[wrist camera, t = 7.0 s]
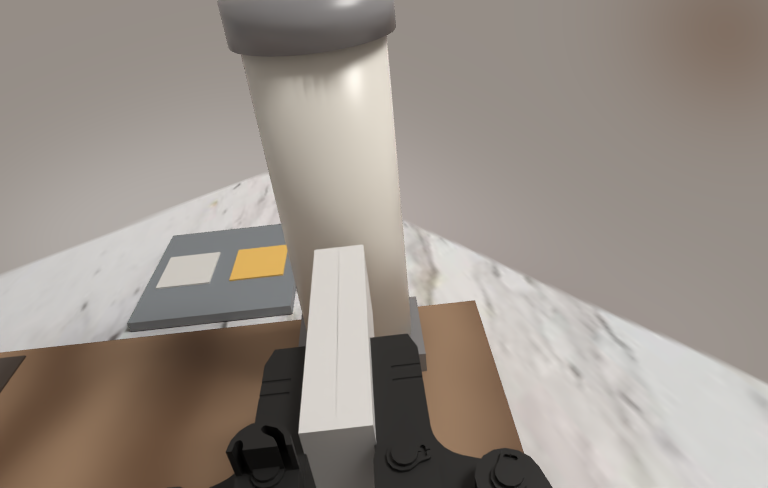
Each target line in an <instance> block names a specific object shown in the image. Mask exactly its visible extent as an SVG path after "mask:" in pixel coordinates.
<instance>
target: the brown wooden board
mask: <svg viewBox="0 0 768 488" xmlns="http://www.w3.org/2000/svg"><path fill="white" fill-rule="evenodd" d="M418 312H419V318H420V323H421V329H422V335H423V341H424V346H425V352H426V364H427V371H423V372H422V377H423V382H424V388H425V394H426V400H427V406H428V412H429V419H430V425H431V428H432V431H433V434H434V436H435V437H436V439H437V440H438V441H439V442H440V443H441V444H442V445H443V446H444V447H445V448H447V449H449V450H451V451H452V452H455V453H458V454H461V455H466V456H471V457H476V458H482V456H483V455H485V454H487V453H488V452H490V451H492V450H494V449H501V448H510V449H515V450H519V451H521V452H523V449H522V445H521V442H520V439H519V436H518V433H517V430H516V427H515V424H514V421H513V417H512V414H511V411H510V408H509V405H508V402H507V399H506V396H505V393H504V390H503V386H502V383H501V380H500V377H499V374H498V371H497V368H496V365H495V362H494V358H493V355H492V352H491V349H490V346H489V343H488V340H487V337H486V334H485V331H484V327H483V324H482V321H481V318H480V315H479V312H478V309H477V306H476V303H475V301H466V302H457V303H447V304H438V305H429V306H420V307H418ZM300 328H301V320H293V321H284V322H275V323H266V324H257V325H248V326H238V327H229V328H220V329H211V330H202V331H193V332H184V333H175V334H166V335H157V336H148V337H138V338H129V339H120V340H111V341H102V342H93V343H84V344H75V345H66V346H57V347H48V348H38V349H29V350H20V351H11V352H2V353H0V488H167V487H182V488H209V487H212V486H214V485H216V484H219V483H220V482H222V481H224V480H226V479H228V478H229V477H230V476H232V475H233V474H234V471H233V468H232V466H231V464H230V461H229V459H228V457H227V454H226V450H227V447H228V445H229V443H230V441H231V439H232V438H233V437H234V436H235V435H236V434H237V433H238V432H239V431H240V430H242V429H243V428H245V427H246V426H248V425H250V424H252V423H255V418H256V412H257V406H258V401H259V399H260V389H261V385H262V378H263V372H264V366H265V364H266V362H267V361H268V359H269V358H270V356H271V355H272V353H273V352H274V350H276V349H285V348H293V347H298V346H299V337H300ZM523 453H524V452H523Z"/></svg>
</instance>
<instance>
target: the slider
mask: <svg viewBox="0 0 768 488" xmlns="http://www.w3.org/2000/svg"><path fill="white" fill-rule="evenodd" d="M218 7H219V11H220V15H221V19H222V23H223V27H224V31H225V35H226V39H227V43H228V47H229V49H230V50H231V51H232V52H235V53H237V54H241V57H242V61H243V64H244V69H245V73H246V78H247V81H248V86H249V90H250V95H251V98H252V103H253V107H254V111H255V115H256V119H257V124H258V128H259V132H260V137H261V141H262V145H263V149H264V154H265V157H266V162H267V166H268V170H269V175H270V179H271V183H272V187H273V192H274V196H275V200H276V204H277V208H278V213H279V217H280V221H281V225H282V229H283V234H284V238H285V242H286V246H287V251H288V255H289V259H290V263H291V267H292V272H293V276H294V280H295V284H296V289H297V293H298V297H299V301H300V305H301V310H302V319H301V328H300V337H299V346H298V347H302V346H306V341H307V330H308V318H309V307H310V295H311V284H312V273H313V261H314V250H318V249H327V248H336V247H345V246H354V245H363V246H364V253H365V261H366V268H367V275H368V282H369V290H370V297H371V304H372V311H373V325H374V337H380V336H389V335H398V334H407V333H408V335H409V336H410V337H411V339H412V340H413V341H414V343H415V344H416V345H417V346H418V352H419V358H420V365H421V370H422V372H423V371H427V364H426V352H425V346H424V341H423V335H422V329H421V323H420V318H419V312H418V306H417V300H416V297H409V293H408V281H407V269H406V258H405V246H404V234H403V223H402V211H401V200H400V187H399V177H398V164H397V152H396V141H395V129H394V118H393V105H392V94H391V82H390V70H389V58H388V47H387V35H388V34H390V33H391V32H393V31H394V30H395V28H396V24H395V23H396V22H395V10H394V0H219V1H218Z"/></svg>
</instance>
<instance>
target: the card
mask: <svg viewBox="0 0 768 488" xmlns="http://www.w3.org/2000/svg"><path fill="white" fill-rule="evenodd" d="M295 291H296V284H295V280H294V276H293V272H292V267H291V263H290V259H289V255H288V251H287V246H286V242H285V238H284V234H283V229H282V225H281V224H276V225H267V226H258V227H249V228H240V229H231V230H222V231H213V232H204V233H195V234H186V235H176V236H173V238H172V239H171V241H170V243H169V245H168V247H167V249H166V251H165V253H164V255H163V257H162V258H161V260H160V262H159V264H158V266H157V268H156V270H155V272H154V274H153V276H152V277H151V279H150V281H149V283H148V285H147V287H146V289H145V291H144V293H143V295H142V296H141V298H140V300H139V302H138V304H137V306H136V308H135V310H134V312H133V314H132V315H131V317H130V319H129V321H128V323H127V324H128V326H129V328H130V330H131V332H132V331H141V330H150V329H159V328H168V327H177V326H186V325H195V324H204V323H214V322H223V321H232V320H241V319H250V318H259V317H268V316H277V315H286V314H292V313H293V306H294V299H295Z"/></svg>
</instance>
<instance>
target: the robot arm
mask: <svg viewBox="0 0 768 488" xmlns="http://www.w3.org/2000/svg"><path fill="white" fill-rule="evenodd" d="M226 454H227V457H228V459H229V461H230V464H231V466H232V468H233V471H234V474H233V475H232V476H230V477H229V478H228V479H226V480H224V481H222V482H220V483H219V484H216V485H214V486H212V487H209V488H552V486H551V485H550V483H549V481H548V480H547V478H546V477H545V475H544V473H543V472H542V470H541V469H540V467H539V466H538V465H537V464H536V463H535V461H534V460H533V459H532V458H531V457H530V456H528V455H526V454H524V453H523V452H521V451H519V450H515V449H510V448H501V449H494V450H492V451H490V452H488V453H487V454H485V455H483V456H482V458H476V457H471V456H466V455H461V454H458V453H455V452H452V451H451V450H449V449H447V448H445V447H444V446H443V445H442V444H441V443H440V442H439V441H438V440H437V439H436V437H435V436H434V434H433V431H432V428H431V425H430V419H429V412H428V406H427V400H426V394H425V388H424V382H423V377H422V370H421V365H420V358H419V352H418V346H417V345H416V344H415V343H414V341H413V340H412V339H411V337H410V336H409V335H408V333H407V334H398V335H389V336H380V337H374V325H373V311H372V304H371V297H370V290H369V282H368V275H367V268H366V261H365V253H364V246H363V245H354V246H345V247H336V248H327V249H318V250H314V261H313V273H312V284H311V295H310V307H309V318H308V330H307V341H306V346H302V347H293V348H285V349H276V350H274V352H273V353H272V355H271V356H270V358H269V359H268V361H267V362H266V364H265V366H264V372H263V378H262V385H261V389H260V399H259V401H258V406H257V412H256V418H255V423H252V424H250V425H248V426H246V427H245V428H243V429H242V430H240V431H239V432H238V433H237V434H236V435H235V436H234V437H233V438H232V439H231V441H230V443H229V445H228V447H227V450H226ZM167 488H182V487H167Z"/></svg>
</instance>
